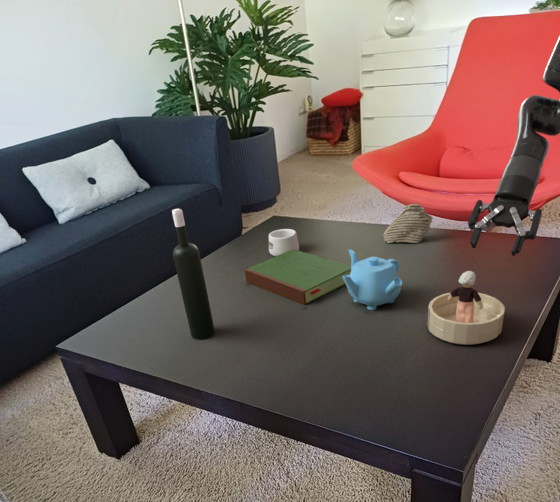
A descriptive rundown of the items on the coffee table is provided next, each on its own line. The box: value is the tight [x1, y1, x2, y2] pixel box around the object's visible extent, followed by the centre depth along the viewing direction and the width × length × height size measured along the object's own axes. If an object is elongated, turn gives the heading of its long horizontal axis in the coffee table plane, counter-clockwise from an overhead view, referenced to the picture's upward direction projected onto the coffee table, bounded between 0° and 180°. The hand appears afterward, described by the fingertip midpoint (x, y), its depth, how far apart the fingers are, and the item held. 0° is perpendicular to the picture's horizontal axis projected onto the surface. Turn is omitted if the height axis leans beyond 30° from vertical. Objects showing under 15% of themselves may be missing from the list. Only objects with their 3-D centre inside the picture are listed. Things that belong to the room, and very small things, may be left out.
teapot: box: [342, 248, 403, 311], centre depth 128 cm, size 15×14×11 cm
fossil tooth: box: [383, 203, 434, 244], centre depth 160 cm, size 12×6×15 cm
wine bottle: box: [171, 207, 216, 340], centre depth 118 cm, size 6×6×30 cm
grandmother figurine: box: [448, 270, 483, 323], centre depth 112 cm, size 8×4×13 cm, turn 60°
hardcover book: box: [244, 249, 351, 306], centre depth 145 cm, size 25×19×4 cm
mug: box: [268, 228, 300, 257], centre depth 166 cm, size 12×10×6 cm
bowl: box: [427, 292, 506, 346], centre depth 114 cm, size 15×15×6 cm
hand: (493, 250), depth 114 cm, fingers open, 8 cm apart
